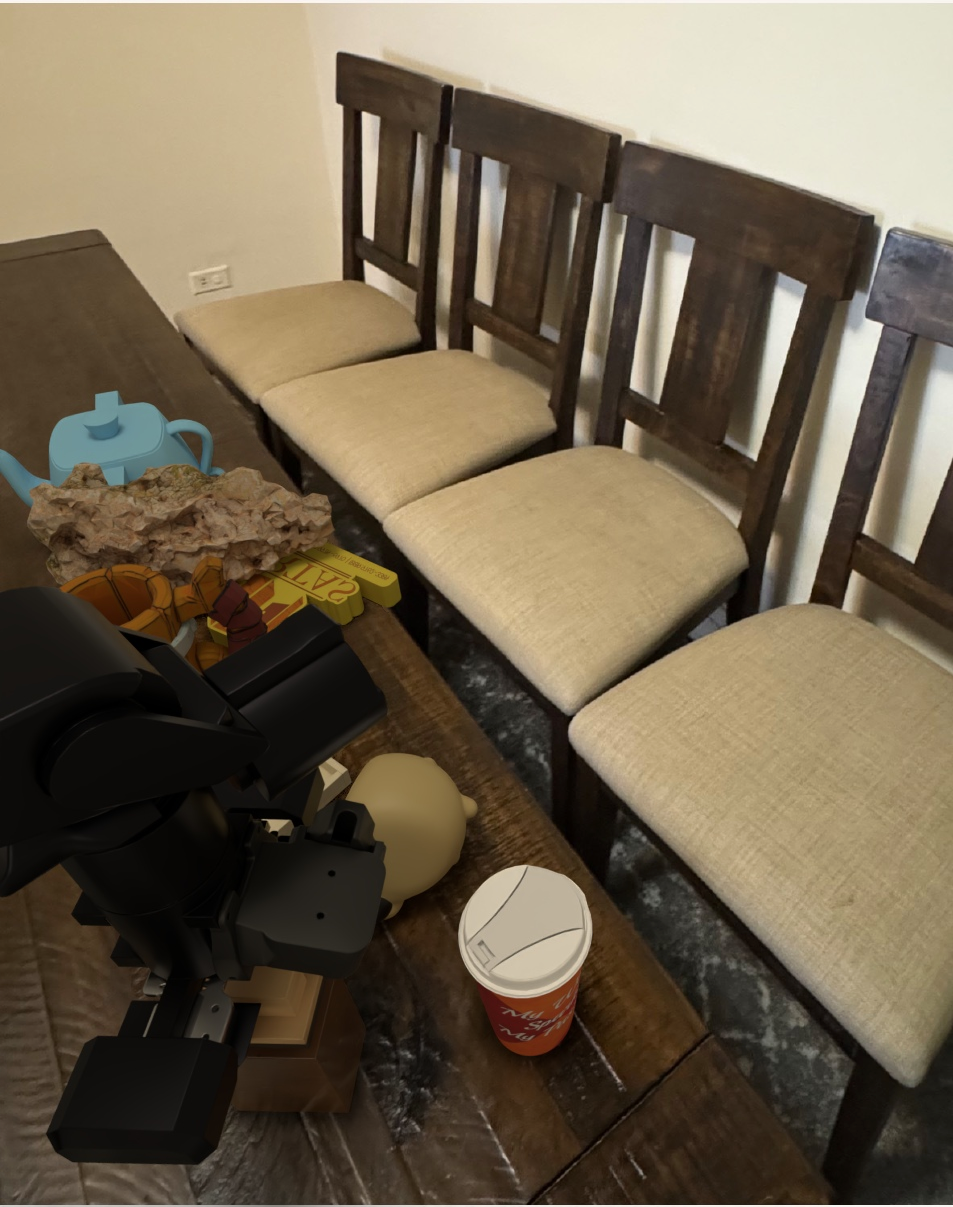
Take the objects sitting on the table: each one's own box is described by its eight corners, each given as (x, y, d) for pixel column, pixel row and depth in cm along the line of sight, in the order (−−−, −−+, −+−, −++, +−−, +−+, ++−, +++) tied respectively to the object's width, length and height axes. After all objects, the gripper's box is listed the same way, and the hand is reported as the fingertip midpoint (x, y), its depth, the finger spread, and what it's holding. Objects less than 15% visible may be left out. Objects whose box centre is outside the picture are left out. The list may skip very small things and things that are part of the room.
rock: (341, 549, 89) (297, 410, 84) (352, 565, 82) (304, 416, 77) (82, 623, 81) (15, 475, 75) (70, 649, 74) (-5, 488, 69)
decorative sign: (261, 530, 92) (148, 610, 83) (254, 509, 90) (137, 589, 81) (404, 596, 86) (298, 692, 76) (400, 575, 83) (290, 671, 74)
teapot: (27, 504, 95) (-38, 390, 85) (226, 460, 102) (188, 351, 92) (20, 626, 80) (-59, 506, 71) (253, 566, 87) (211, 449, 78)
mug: (94, 676, 76) (19, 552, 66) (280, 636, 81) (238, 514, 70) (85, 769, 69) (-1, 646, 59) (290, 719, 73) (244, 597, 63)
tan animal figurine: (374, 849, 69) (261, 863, 60) (440, 729, 67) (334, 726, 58) (442, 933, 64) (329, 962, 55) (517, 806, 62) (412, 815, 53)
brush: (196, 1048, 45) (169, 1018, 42) (222, 970, 48) (199, 937, 45) (310, 1051, 45) (291, 1021, 42) (329, 973, 48) (313, 940, 45)
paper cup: (521, 1101, 53) (510, 1019, 43) (453, 1005, 57) (429, 911, 47) (613, 1017, 56) (622, 924, 47) (543, 933, 60) (538, 831, 51)
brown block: (237, 1110, 52) (186, 1056, 45) (261, 1026, 55) (217, 963, 48) (349, 1113, 52) (315, 1059, 45) (366, 1028, 55) (337, 966, 49)
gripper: (288, 1107, 28) (366, 1206, 39) (394, 683, 41) (430, 845, 52) (-47, 1100, 28) (125, 1202, 39) (169, 677, 41) (252, 840, 52)
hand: (255, 995), depth 45 cm, fingers open, 4 cm apart
